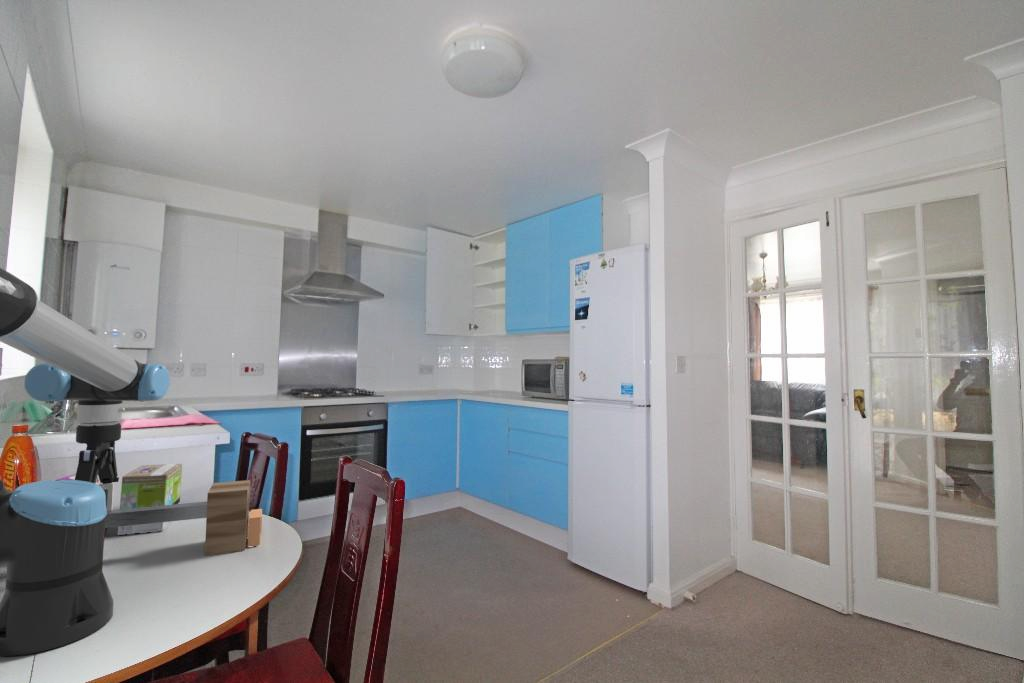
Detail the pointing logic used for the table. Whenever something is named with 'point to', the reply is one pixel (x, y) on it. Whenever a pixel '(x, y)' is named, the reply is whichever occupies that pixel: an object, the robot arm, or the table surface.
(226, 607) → the table surface
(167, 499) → the tea box
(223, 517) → the bearing block
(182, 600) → the table surface
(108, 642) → the table surface
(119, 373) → the robot arm
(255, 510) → the spacer
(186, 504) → the shaft
